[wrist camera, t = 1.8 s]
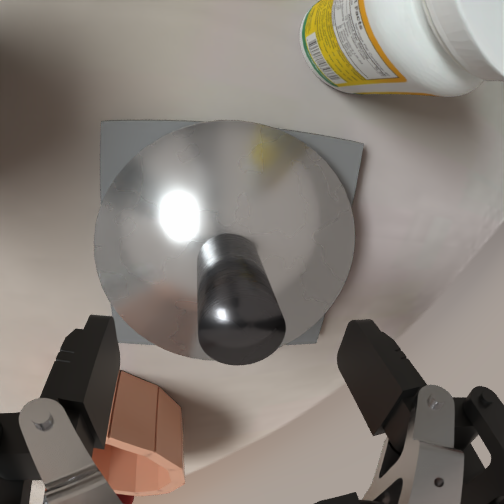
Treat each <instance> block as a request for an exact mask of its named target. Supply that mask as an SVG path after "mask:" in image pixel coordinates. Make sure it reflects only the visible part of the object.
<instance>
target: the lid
mask: <svg viewBox="0 0 504 504" xmlns="http://www.w3.org/2000/svg"><path fill="white" fill-rule="evenodd" d="M354 246H355V227H354V218H353V214H352V209H351V205H350V202H349V199H348V197H347V194H346V192H345V189H344V188H343V186H342V184H341V182H340V180H339V179H338V177H337V175H336V174H335V173H334V171H333V170H332V169H331V167H330V166H329V165H328V164H327V162H326V161H325V160H324V159H323V158H322V157H321V156H319V155H318V154H317V153H316V152H315V151H314V150H313V149H312V148H310V147H309V146H307V145H306V144H305V143H303V142H302V141H300V140H299V139H297V138H295V137H293V136H291V135H289V134H287V133H285V132H283V131H281V130H278V129H275V128H272V127H269V126H266V125H263V124H258V123H252V122H246V121H240V120H216V121H208V122H201V123H197V124H193V125H189V126H186V127H182V128H180V129H178V130H175V131H173V132H171V133H169V134H166V135H164V136H163V137H161V138H159V139H158V140H156V141H155V142H153V143H151V144H150V145H148V146H147V147H145V148H144V149H143V150H142V151H140V152H139V153H138V154H137V155H136V156H135V157H133V158H132V159H131V160H130V161H129V162H128V163H127V164H126V166H125V167H124V168H123V169H122V170H121V171H120V173H119V174H118V175H117V176H116V178H115V179H114V181H113V183H112V184H111V186H110V187H109V189H108V191H107V193H106V195H105V197H104V200H103V202H102V204H101V207H100V210H99V213H98V217H97V221H96V226H95V235H94V257H95V263H96V268H97V273H98V276H99V279H100V282H101V285H102V288H103V290H104V292H105V294H106V296H107V298H108V300H109V301H110V303H111V304H112V306H113V307H114V309H115V310H116V312H117V313H118V314H119V315H120V317H121V318H122V319H123V320H124V321H125V322H126V323H127V324H128V325H129V326H130V327H131V328H132V329H133V330H135V331H136V332H137V333H138V334H139V335H141V336H142V337H144V338H145V339H147V340H148V341H150V342H151V343H153V344H155V345H157V346H159V347H161V348H163V349H165V350H168V351H170V352H173V353H176V354H179V355H182V356H186V357H190V358H196V359H202V360H216V361H218V362H221V363H224V364H228V365H247V364H251V363H255V362H258V361H260V360H263V359H265V358H266V357H268V356H269V355H271V354H272V353H273V352H274V351H276V350H277V348H279V347H281V346H283V345H285V344H287V343H289V342H291V341H293V340H294V339H296V338H297V337H299V336H300V335H302V334H303V333H305V332H306V331H307V330H308V329H310V328H311V327H312V326H313V325H314V324H315V323H316V322H317V321H318V320H319V319H320V318H321V317H322V316H323V315H324V314H325V313H326V312H327V311H328V309H329V308H330V307H331V306H332V304H333V303H334V301H335V300H336V298H337V297H338V295H339V293H340V292H341V290H342V288H343V286H344V284H345V281H346V279H347V276H348V274H349V271H350V268H351V264H352V259H353V254H354Z"/></svg>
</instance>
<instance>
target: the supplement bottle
mask: <svg viewBox="0 0 504 504" xmlns="http://www.w3.org/2000/svg"><path fill="white" fill-rule="evenodd" d="M299 38H300V45H301V50H302V53H303V56H304V58H305V60H306V62H307V64H308V65H309V67H310V68H311V70H312V71H313V72H314V73H315V75H316V76H317V77H318V78H320V79H321V80H322V81H323V82H325V83H326V84H327V85H329V86H331V87H333V88H335V89H337V90H339V91H342V92H345V93H350V94H411V95H429V96H441V97H455V96H461V95H464V94H467V93H469V92H471V91H473V90H474V89H476V88H477V87H478V86H479V85H480V84H481V83H482V82H483V81H484V80H486V81H504V0H320V1H319V2H317V3H316V4H315V5H314V6H313V7H312V8H311V9H310V10H309V11H308V12H307V13H306V15H305V16H304V18H303V20H302V23H301V27H300V34H299Z"/></svg>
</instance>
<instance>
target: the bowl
mask: <svg viewBox="0 0 504 504" xmlns="http://www.w3.org/2000/svg"><path fill="white" fill-rule="evenodd" d="M92 460H93V462H94V463H95V465H96V466H97V468H98V469H99V471H100V472H101V473H102V475H103V476H104V478H105V479H106V481H107V482H108V484H109V485H110V487H111V488H112V489H113V491H114V492H115V493H116V494H124V495H132V496H150V495H159V494H167V493H170V492H172V491H174V490H175V489H177V488H179V487H180V486H182V485H184V484H185V472H184V448H183V422H182V412H181V407H180V406H179V405H178V404H177V403H176V402H175V401H174V400H173V399H172V398H171V397H169V396H168V395H167V394H166V393H165V392H164V391H163V390H162V389H161V388H160V387H158V386H157V385H155V384H152V383H150V382H147V381H145V380H142V379H140V378H138V377H135V376H133V375H131V374H128V373H126V372H124V371H121V372H120V370H119V374H118V378H117V383H116V388H115V392H114V397H113V402H112V408H111V413H110V418H109V424H108V430H107V436H106V442H105V449H97V448H93V454H92Z"/></svg>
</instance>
